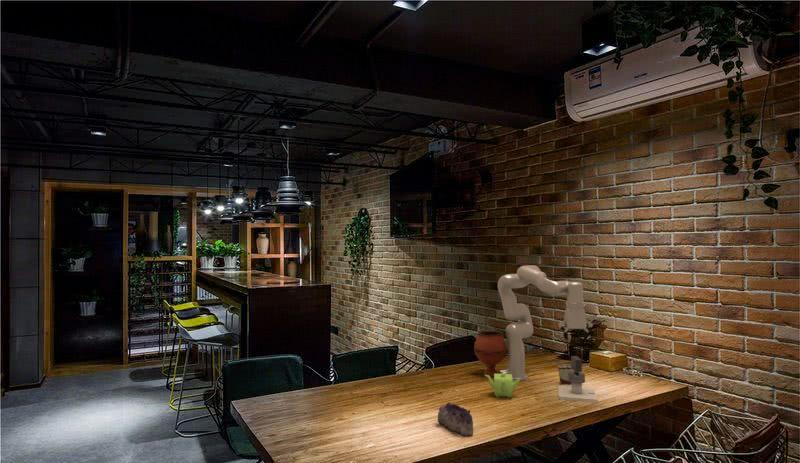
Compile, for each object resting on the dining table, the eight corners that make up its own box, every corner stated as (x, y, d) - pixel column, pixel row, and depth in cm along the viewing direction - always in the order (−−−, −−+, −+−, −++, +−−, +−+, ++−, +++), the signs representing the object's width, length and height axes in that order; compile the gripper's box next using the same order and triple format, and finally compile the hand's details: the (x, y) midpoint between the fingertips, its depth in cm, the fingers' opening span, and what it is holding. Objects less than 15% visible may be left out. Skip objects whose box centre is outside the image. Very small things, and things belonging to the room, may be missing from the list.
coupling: (587, 383, 231) (586, 359, 232) (570, 383, 232) (570, 359, 232) (581, 378, 241) (581, 355, 241) (565, 377, 241) (565, 355, 242)
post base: (558, 399, 230) (558, 385, 230) (557, 388, 247) (557, 375, 247) (597, 402, 224) (597, 388, 224) (594, 391, 241) (593, 378, 241)
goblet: (468, 372, 280) (467, 331, 280) (494, 368, 288) (493, 328, 289) (486, 380, 262) (486, 336, 263) (514, 376, 270) (513, 333, 271)
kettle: (504, 402, 226) (503, 379, 226) (483, 394, 238) (482, 373, 238) (524, 396, 235) (523, 374, 235) (502, 389, 246) (502, 368, 247)
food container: (577, 382, 259) (577, 364, 259) (580, 385, 253) (580, 366, 253) (555, 381, 260) (554, 363, 260) (557, 384, 254) (557, 366, 254)
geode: (484, 433, 189) (482, 409, 188) (462, 443, 183) (459, 418, 183) (456, 415, 207) (454, 394, 206) (434, 423, 201) (432, 401, 201)
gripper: (589, 305, 240) (590, 338, 240) (556, 305, 241) (556, 338, 241) (595, 307, 233) (595, 341, 232) (560, 307, 234) (560, 341, 233)
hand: (575, 339), depth 236 cm, fingers open, 9 cm apart
